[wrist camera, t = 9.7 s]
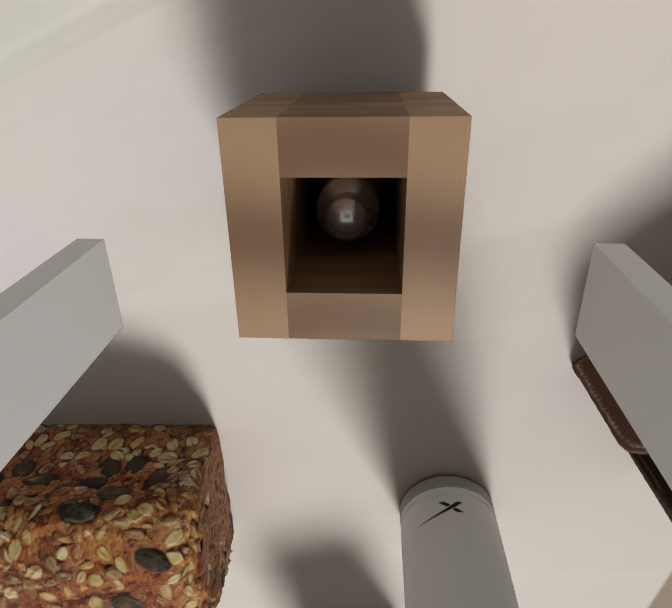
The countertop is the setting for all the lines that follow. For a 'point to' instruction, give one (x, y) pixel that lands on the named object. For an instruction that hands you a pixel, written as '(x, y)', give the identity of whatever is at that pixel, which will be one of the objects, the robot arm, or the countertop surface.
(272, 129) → the collar
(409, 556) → the travel mug
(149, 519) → the bread
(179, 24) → the countertop surface
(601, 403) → the letter holder
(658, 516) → the countertop surface
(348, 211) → the hub
